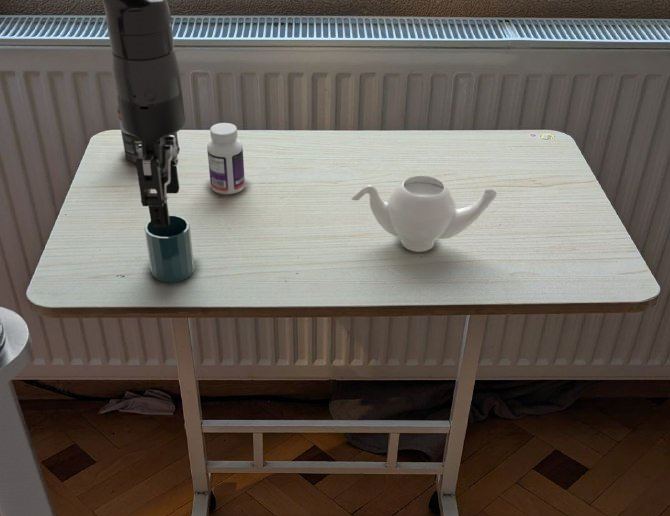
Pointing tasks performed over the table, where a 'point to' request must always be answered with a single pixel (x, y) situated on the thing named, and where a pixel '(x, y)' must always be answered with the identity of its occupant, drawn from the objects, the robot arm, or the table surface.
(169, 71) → the robot arm
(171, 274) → the cup
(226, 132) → the pill bottle
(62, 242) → the table surface
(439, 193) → the teapot
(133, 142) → the supplement bottle
